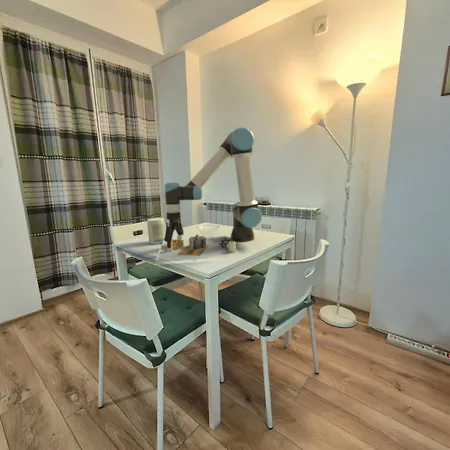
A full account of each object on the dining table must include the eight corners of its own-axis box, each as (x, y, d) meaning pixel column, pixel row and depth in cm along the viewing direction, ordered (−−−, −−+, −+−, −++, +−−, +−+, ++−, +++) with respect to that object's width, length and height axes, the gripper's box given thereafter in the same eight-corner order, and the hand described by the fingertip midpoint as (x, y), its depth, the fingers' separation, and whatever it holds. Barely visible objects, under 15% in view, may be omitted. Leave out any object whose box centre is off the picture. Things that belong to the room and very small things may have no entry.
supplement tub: (167, 241, 159) (166, 218, 157) (159, 245, 151) (158, 220, 148) (154, 240, 162) (152, 217, 159) (145, 244, 153) (143, 220, 150)
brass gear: (186, 247, 144) (186, 239, 143) (180, 252, 135) (179, 243, 134) (171, 247, 145) (170, 238, 144) (164, 251, 137) (163, 243, 136)
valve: (239, 254, 130) (230, 248, 141) (239, 242, 128) (230, 237, 139) (227, 256, 127) (219, 250, 138) (227, 243, 126) (219, 238, 137)
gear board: (210, 247, 144) (210, 232, 142) (199, 258, 125) (199, 241, 123) (190, 246, 146) (190, 232, 145) (177, 257, 127) (176, 241, 126)
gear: (205, 243, 145) (204, 235, 144) (206, 248, 136) (206, 239, 135) (189, 245, 144) (188, 236, 143) (189, 249, 135) (189, 240, 134)
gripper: (176, 208, 149) (177, 243, 153) (155, 215, 125) (158, 256, 129) (188, 208, 147) (189, 243, 151) (169, 215, 123) (172, 257, 127)
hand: (175, 249), depth 140 cm, fingers open, 13 cm apart
